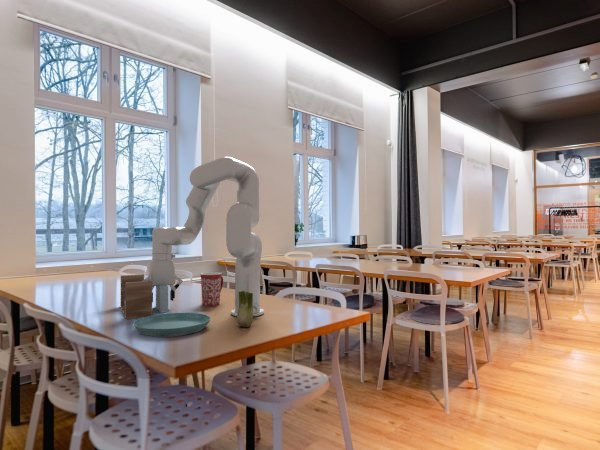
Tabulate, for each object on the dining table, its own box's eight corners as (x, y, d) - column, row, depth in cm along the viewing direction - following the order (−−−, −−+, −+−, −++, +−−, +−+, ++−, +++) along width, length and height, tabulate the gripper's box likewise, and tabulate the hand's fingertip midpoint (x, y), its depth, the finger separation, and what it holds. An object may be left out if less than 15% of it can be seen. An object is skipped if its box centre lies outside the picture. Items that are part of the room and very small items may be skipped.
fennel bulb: (254, 327, 137) (255, 291, 137) (241, 329, 134) (241, 292, 134) (248, 324, 142) (248, 289, 142) (234, 325, 139) (234, 290, 140)
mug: (212, 307, 171) (213, 274, 171) (195, 305, 175) (195, 273, 175) (230, 302, 183) (230, 272, 183) (214, 300, 187) (214, 270, 187)
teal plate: (200, 318, 151) (200, 309, 151) (219, 334, 130) (219, 323, 130) (129, 325, 140) (130, 315, 140) (137, 343, 119) (137, 332, 119)
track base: (152, 316, 153) (152, 281, 153) (125, 319, 149) (126, 283, 149) (143, 304, 176) (143, 274, 176) (120, 306, 172) (120, 275, 172)
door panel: (168, 311, 162) (168, 286, 162) (160, 312, 161) (160, 286, 161) (163, 306, 173) (163, 282, 173) (155, 307, 172) (155, 283, 172)
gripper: (181, 256, 174) (181, 298, 174) (138, 257, 166) (137, 301, 166) (185, 257, 168) (185, 300, 168) (140, 258, 160) (140, 304, 160)
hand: (161, 300), depth 167 cm, fingers open, 7 cm apart
